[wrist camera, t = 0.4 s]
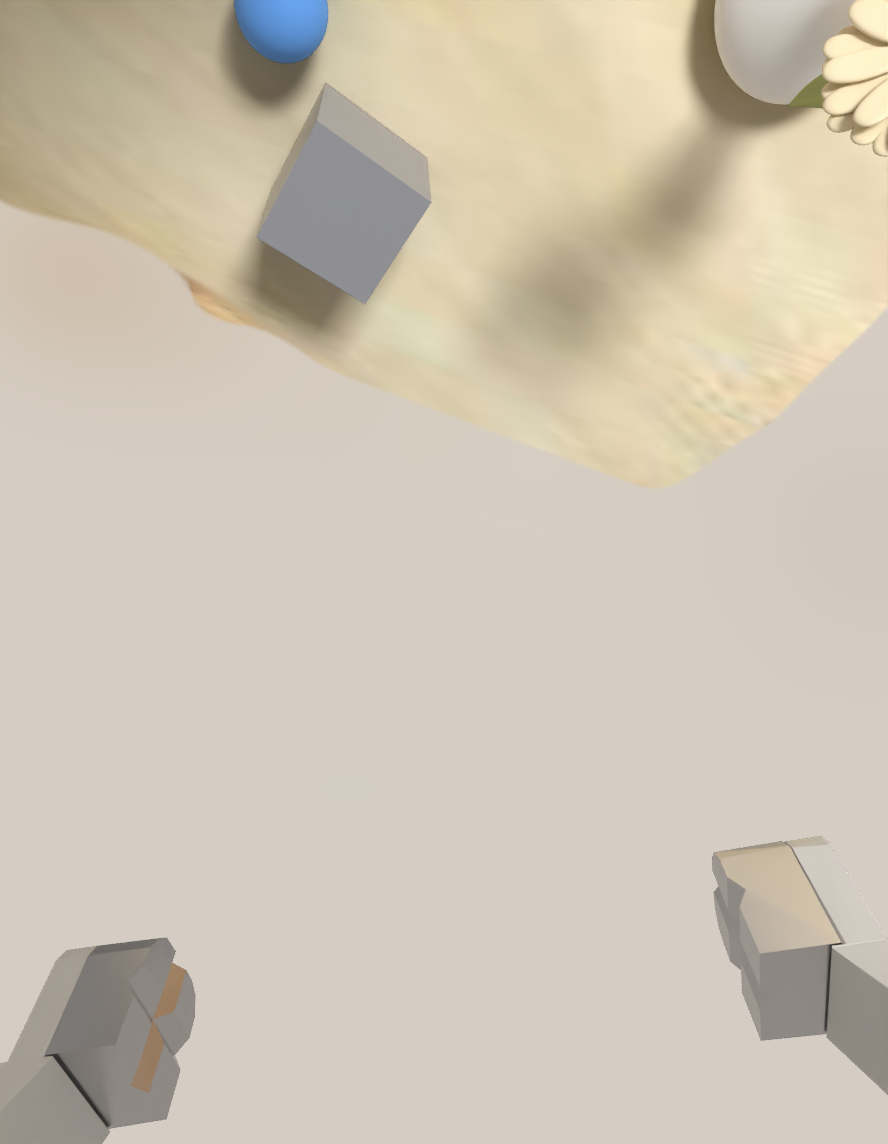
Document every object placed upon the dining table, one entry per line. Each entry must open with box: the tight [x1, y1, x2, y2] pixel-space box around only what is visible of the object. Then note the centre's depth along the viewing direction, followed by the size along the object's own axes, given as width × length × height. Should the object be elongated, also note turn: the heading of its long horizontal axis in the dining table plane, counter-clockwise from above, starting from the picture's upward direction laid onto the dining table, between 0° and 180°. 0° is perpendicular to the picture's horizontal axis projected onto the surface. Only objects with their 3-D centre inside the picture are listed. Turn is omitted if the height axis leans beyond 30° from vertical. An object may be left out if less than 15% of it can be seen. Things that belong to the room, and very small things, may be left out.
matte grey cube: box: [257, 83, 431, 304], centre depth 47 cm, size 7×7×8 cm
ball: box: [234, 0, 328, 63], centre depth 41 cm, size 5×5×5 cm
